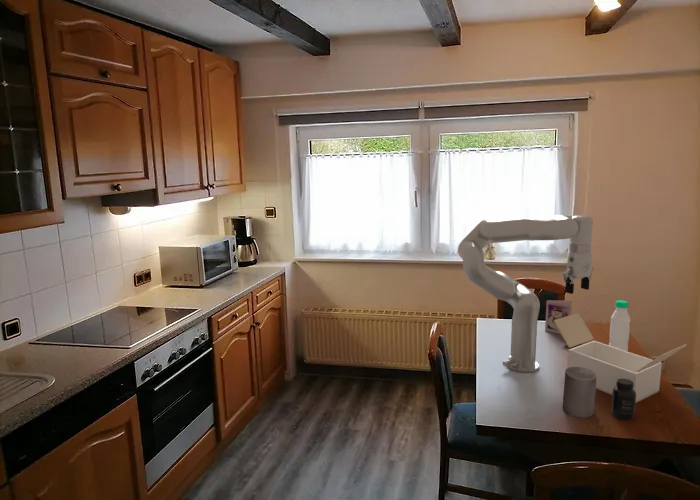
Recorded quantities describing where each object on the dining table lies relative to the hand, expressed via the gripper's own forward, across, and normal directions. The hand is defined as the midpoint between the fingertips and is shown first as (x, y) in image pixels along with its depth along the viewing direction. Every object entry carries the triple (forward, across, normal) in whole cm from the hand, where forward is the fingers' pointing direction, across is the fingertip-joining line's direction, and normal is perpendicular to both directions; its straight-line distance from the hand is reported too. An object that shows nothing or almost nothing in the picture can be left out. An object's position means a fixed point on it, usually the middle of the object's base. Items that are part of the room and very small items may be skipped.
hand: (577, 290), depth 202 cm
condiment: (+31, +16, +11) cm, 37 cm away
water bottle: (+31, +20, -7) cm, 38 cm away
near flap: (+15, -3, -35) cm, 38 cm away
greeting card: (+31, +28, +27) cm, 50 cm away
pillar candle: (+31, -30, -23) cm, 49 cm away
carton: (+31, -2, -18) cm, 36 cm away
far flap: (+15, -3, -2) cm, 15 cm away
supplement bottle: (+31, -20, -33) cm, 50 cm away
